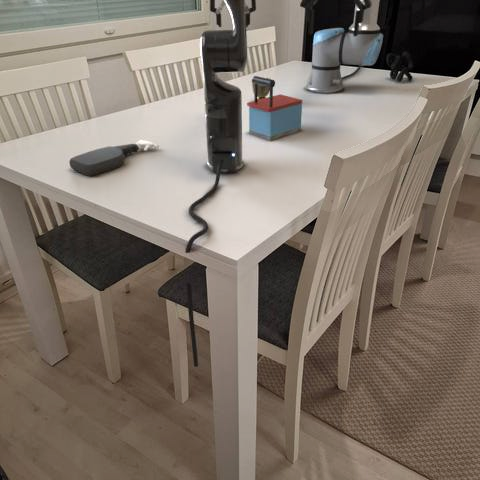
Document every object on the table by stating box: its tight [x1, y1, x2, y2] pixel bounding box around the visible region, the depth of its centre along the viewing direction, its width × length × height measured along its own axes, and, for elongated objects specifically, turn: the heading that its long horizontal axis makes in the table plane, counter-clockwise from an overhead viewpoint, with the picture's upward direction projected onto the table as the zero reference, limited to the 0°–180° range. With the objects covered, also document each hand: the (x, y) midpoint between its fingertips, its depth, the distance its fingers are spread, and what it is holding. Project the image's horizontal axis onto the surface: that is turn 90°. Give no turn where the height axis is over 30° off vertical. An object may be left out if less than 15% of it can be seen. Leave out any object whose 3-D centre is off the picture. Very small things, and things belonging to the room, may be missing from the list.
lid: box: [246, 75, 303, 112], centre depth 136 cm, size 14×10×9 cm
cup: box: [251, 76, 271, 100], centre depth 173 cm, size 8×7×8 cm
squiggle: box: [385, 51, 414, 83], centre depth 198 cm, size 11×10×15 cm
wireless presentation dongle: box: [68, 139, 160, 177], centre depth 124 cm, size 3×11×24 cm
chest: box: [248, 102, 303, 141], centre depth 141 cm, size 14×10×9 cm
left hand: (233, 26), depth 142 cm, fingers open, 8 cm apart
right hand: (332, 34), depth 132 cm, fingers open, 13 cm apart
